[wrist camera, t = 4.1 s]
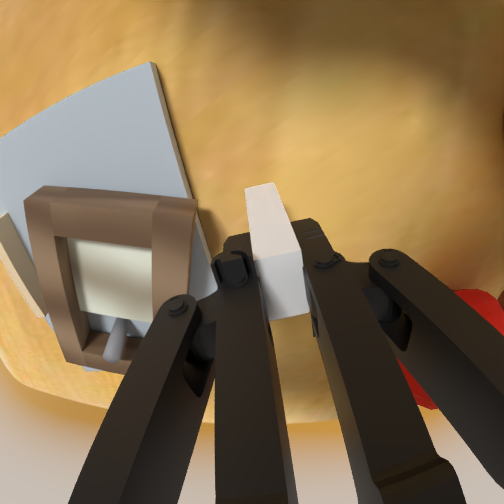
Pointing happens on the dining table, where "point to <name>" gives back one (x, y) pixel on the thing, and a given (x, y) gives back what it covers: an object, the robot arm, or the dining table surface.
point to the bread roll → (501, 300)
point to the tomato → (487, 309)
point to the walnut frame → (107, 262)
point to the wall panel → (95, 177)
